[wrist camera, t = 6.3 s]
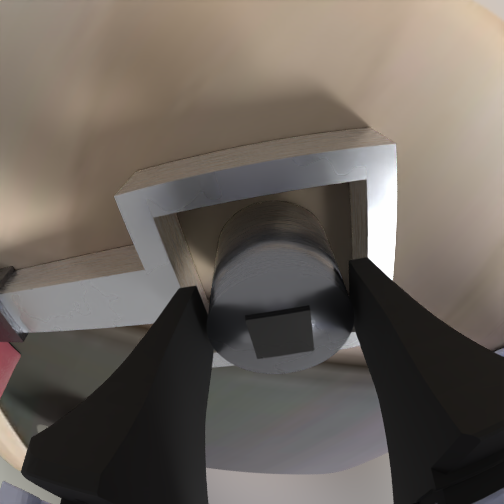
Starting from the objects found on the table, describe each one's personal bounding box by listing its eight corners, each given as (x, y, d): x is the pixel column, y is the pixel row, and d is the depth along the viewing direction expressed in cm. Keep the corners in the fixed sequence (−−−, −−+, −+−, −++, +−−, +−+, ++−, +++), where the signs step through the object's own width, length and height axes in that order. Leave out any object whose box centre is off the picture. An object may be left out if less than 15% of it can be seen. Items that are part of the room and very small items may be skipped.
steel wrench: (370, 127, 10) (399, 145, 8) (372, 306, 15) (386, 343, 13) (-40, 237, 12) (-64, 261, 10) (28, 343, 17) (15, 370, 15)
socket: (321, 189, 12) (356, 264, 8) (329, 281, 14) (353, 366, 10) (205, 210, 12) (185, 292, 8) (232, 297, 14) (227, 384, 11)
